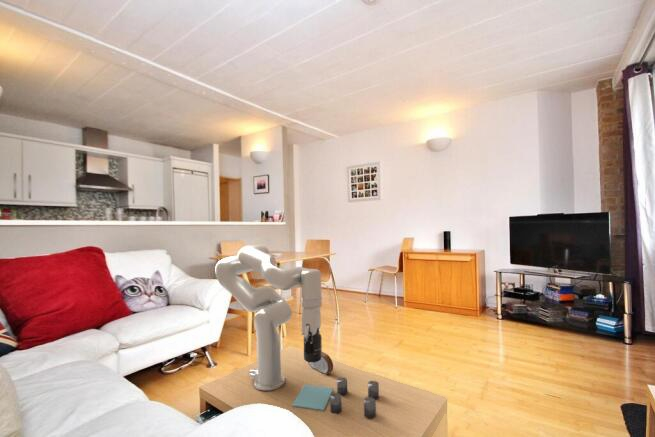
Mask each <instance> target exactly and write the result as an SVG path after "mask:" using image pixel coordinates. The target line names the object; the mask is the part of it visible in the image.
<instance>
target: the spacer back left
mask: <svg viewBox="0 0 655 437" xmlns="http://www.w3.org/2000/svg"><path fill="white" fill-rule="evenodd" d="M336 387H337V388H336V393H339V394H341V397H344V396H347V395H348V391H349V390H348V379H347V378H346V377H342V376H341V377H338V378H337V379H336Z"/></svg>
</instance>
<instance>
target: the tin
mask: <svg viewBox="0 0 655 437" xmlns="http://www.w3.org/2000/svg"><path fill="white" fill-rule="evenodd" d="M308 365H309V366H310V367H311V368H312V369H314V370H315V371H317V372H319V373H321V374H323V375H328V374H330V373H332V372H333V370H334V364H333V360H332V358H331V356H329V354H327V353H326V352H324V351H322V358H321V360H320V361H318V362H308Z"/></svg>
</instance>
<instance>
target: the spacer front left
mask: <svg viewBox="0 0 655 437" xmlns="http://www.w3.org/2000/svg"><path fill="white" fill-rule="evenodd" d="M329 406H330V407H329V411H330V413H331V414H333V415H338V414H341V413H342V411H343V410H342V406H343V405H342V396H341V394H339V393H337V392H332V394H331V395H330V398H329Z"/></svg>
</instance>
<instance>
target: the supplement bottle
mask: <svg viewBox="0 0 655 437" xmlns="http://www.w3.org/2000/svg"><path fill="white" fill-rule="evenodd" d="M319 332H320V329H319V327H318V328H317V332H316V334H315V335H314V336H313V343H314V354H306V353H305V340H304V339H303V359H304V361H305V362H318V361H320V360H321V358H322V352H323V351H322V347H323V346H322V345H323V344H322V343H323V342H322V335H321V333H319ZM309 334H312V333H309ZM309 338H310V339H311V336H309Z"/></svg>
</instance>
